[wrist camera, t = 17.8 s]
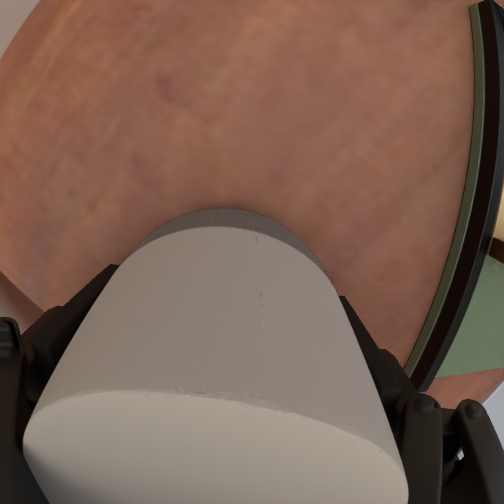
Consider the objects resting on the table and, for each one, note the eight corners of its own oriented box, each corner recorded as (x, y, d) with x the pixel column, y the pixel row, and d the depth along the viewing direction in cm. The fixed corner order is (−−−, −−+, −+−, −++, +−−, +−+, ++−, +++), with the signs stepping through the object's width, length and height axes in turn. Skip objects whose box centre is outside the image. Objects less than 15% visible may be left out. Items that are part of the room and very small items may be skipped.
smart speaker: (301, 183, 14) (587, 349, 1) (321, 339, 17) (399, 566, 4) (121, 220, 15) (-108, 389, 1) (169, 363, 17) (111, 575, 4)
